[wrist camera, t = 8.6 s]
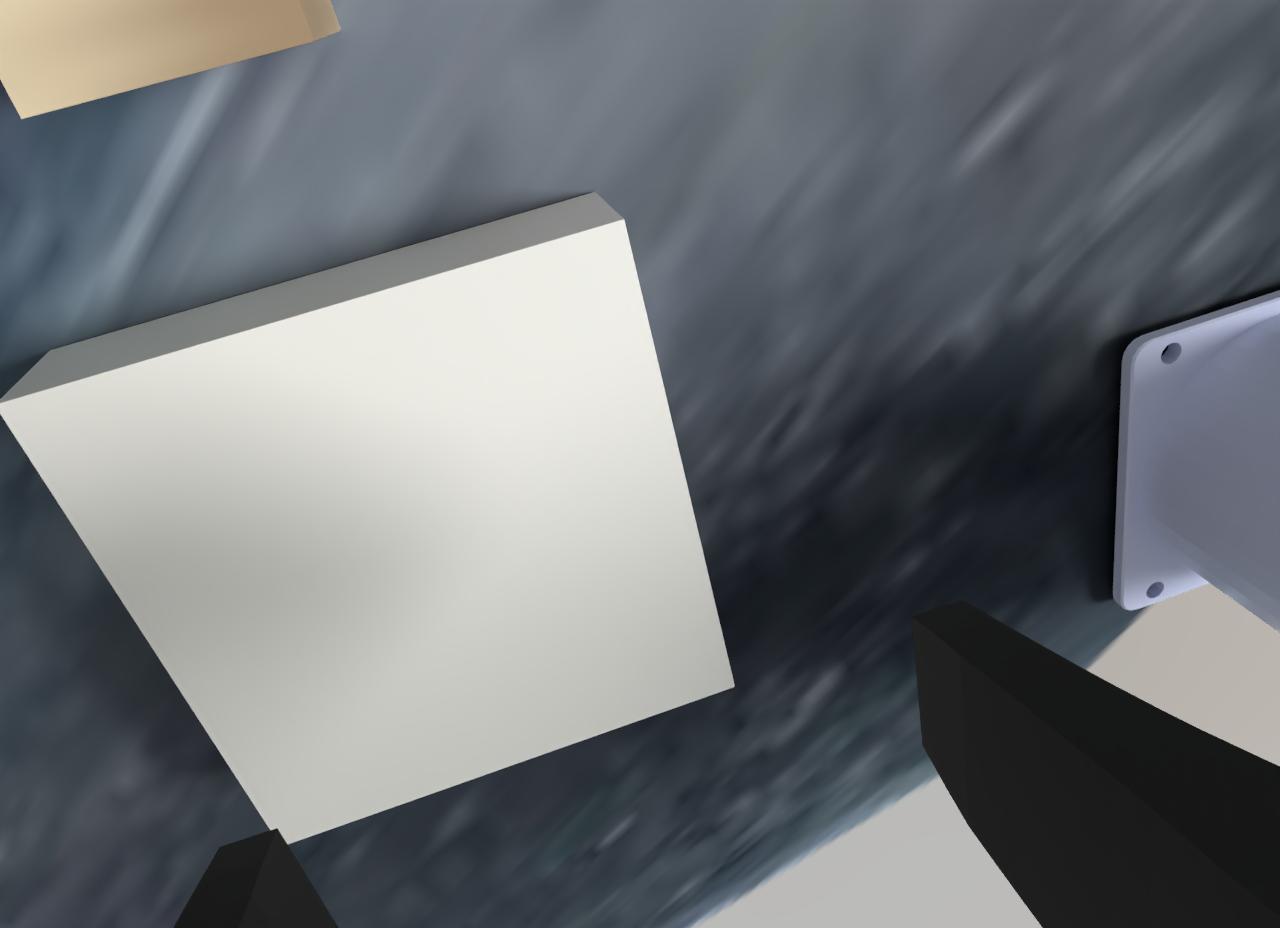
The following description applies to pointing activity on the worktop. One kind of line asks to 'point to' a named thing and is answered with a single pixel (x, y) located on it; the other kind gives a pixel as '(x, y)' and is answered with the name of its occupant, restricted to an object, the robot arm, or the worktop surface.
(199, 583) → the board
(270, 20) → the block
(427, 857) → the worktop surface
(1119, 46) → the worktop surface
